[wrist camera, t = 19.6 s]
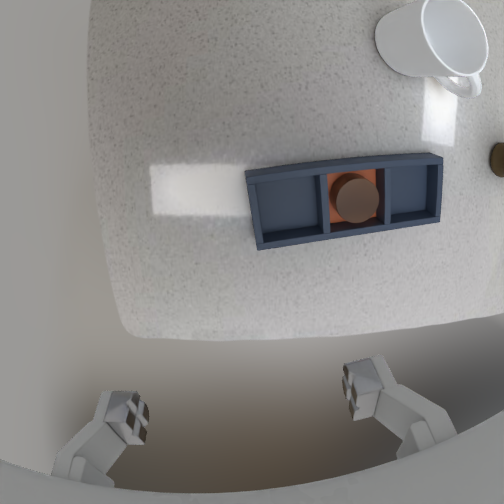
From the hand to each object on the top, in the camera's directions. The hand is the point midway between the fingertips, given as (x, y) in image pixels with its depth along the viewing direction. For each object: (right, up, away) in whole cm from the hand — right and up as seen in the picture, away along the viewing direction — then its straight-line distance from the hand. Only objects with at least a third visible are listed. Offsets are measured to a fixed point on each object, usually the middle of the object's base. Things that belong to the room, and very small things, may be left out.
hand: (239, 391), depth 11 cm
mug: (+19, +28, +16) cm, 37 cm away
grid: (+12, +12, +23) cm, 29 cm away
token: (+12, +12, +23) cm, 28 cm away
